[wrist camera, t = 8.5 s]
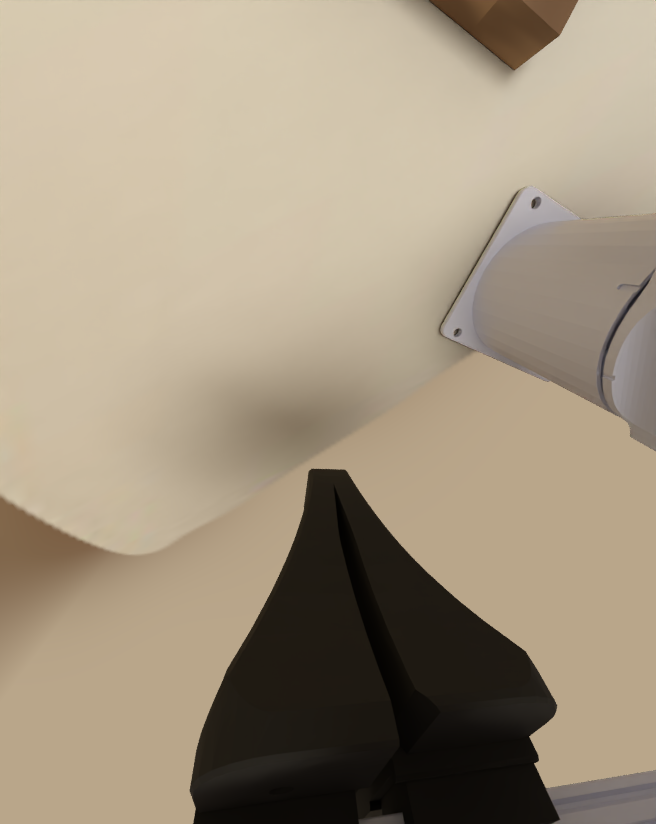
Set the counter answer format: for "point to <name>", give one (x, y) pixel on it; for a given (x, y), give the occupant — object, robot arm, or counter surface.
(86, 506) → the counter surface
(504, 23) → the keypad board
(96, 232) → the counter surface
